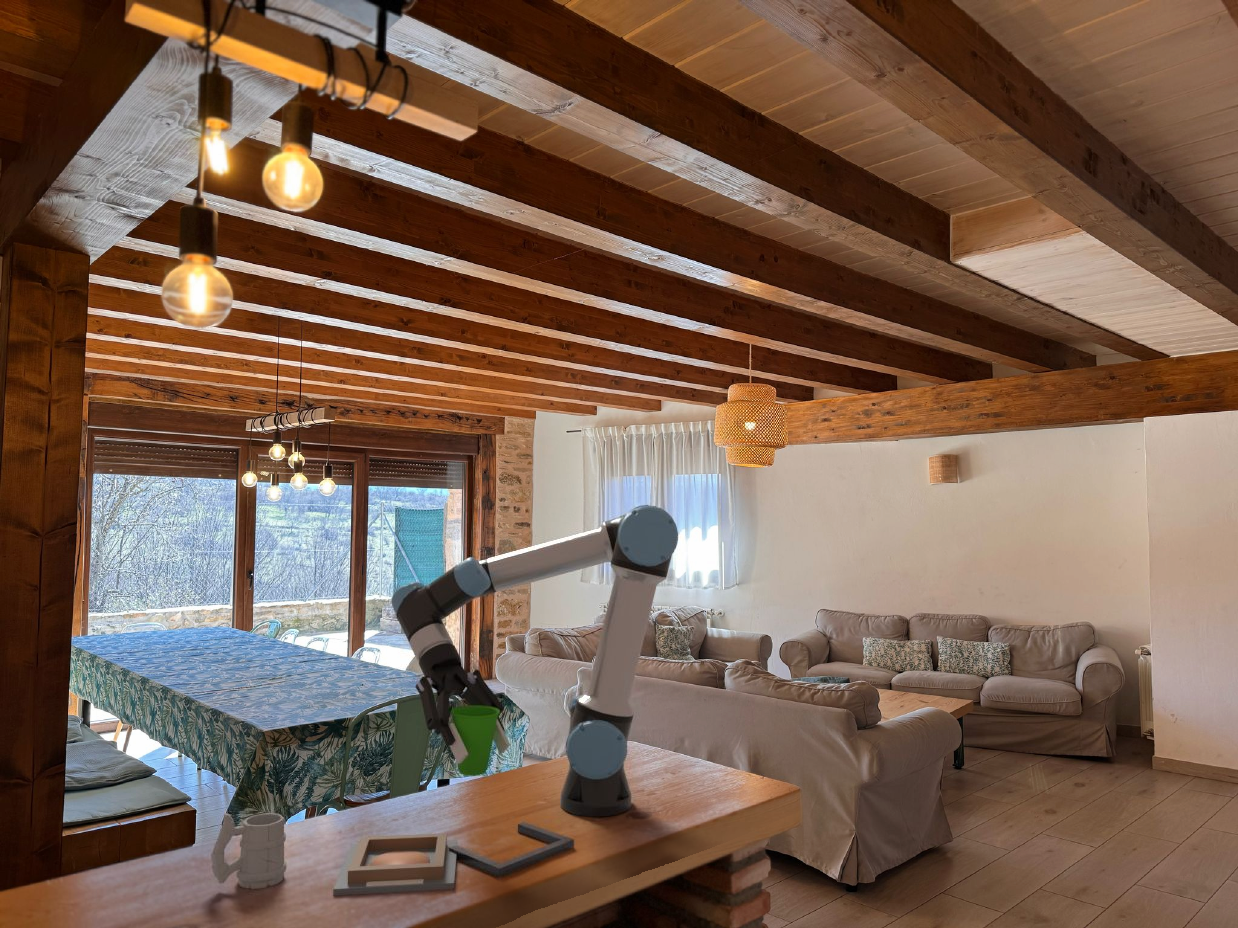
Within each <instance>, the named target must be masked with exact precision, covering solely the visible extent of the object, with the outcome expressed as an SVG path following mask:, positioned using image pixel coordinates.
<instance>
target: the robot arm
mask: <svg viewBox="0 0 1238 928" xmlns="http://www.w3.org/2000/svg"><path fill="white" fill-rule="evenodd" d="M678 542H679V531H678V527H677V524H676V522H675V520H674V518H673V517H672V516H671V515H670V514H669V512H667V511H666V510H665V509H664V508H661V507H658V506H655V505H649V504H646V505H645V504H644V505H643V504H642V505H638V506H635V507H634V508H632V509H631V510H629V511H628V512H627V513H624V514H623V515H620V516H619V517H616V518H613V519H609V520H607V521H606V520H605V521H603V522H602V523H601V525H600V526H599V527H597V528H595V529H591V530H587V531H583V532H580V533H576V534H572V535H568V536H564V537H561V538H558V539H554V540H551V541H550V540H549V541H547V542H543V543H540V544H536V545H532V546H529V547H525V548H521V549H517V550H514V551H510V552H506V553H502V554H499V555H496V556H491V557H488V558H486V559H481V560H477V559H476V558H475V557H472V556H470V557H467V558H466V559H464V560H463V561H459V562H458V563H457V564H455V566H453V567H452V568H451V569H449V570H447V571H446V572H444V573H443V574H441V575H440V576H439V577H437V578H436V579H435V580H433V581H431V582H430V583H428V584H427V585H424V584H423V583H422V582H418V581H413V582H410V583H408V584H403V585H402V586H401V587H399V588H397V590H396V591H395V592H394V593H393V595H392V597H391V606H392V608H393V610H394V614H395V617H396V620H397V621H398V622H399V625H400V627H401V629H402V631H403V633H404V635H405V637H406V639H407V641H408V643H409V645H410V648H411V650H412V652H413V654H414V656H415V659H416V660H417V661H418V666H419V669H420V670H421V672H422V675H423V676H422V677H420V679H419V680H418V681H417V683H416V684H415V689H416V690H417V692H418V694H419V695H420V699H421V704H422V710H423V715H424V719H425V723H426V728H427V730H428V731H433V730H434V733H435V734H436V735H441V737H442V739H443V741H444V744H445V745H446V746H447V747H449V748H450V750H451V752H452V755H453V757H454V759H455V760H456V763H458V764H459V763H462V762H463V760H464V759H465V758H466V757H467V756H468V752H467V750H466V748H465V746H464V744H463V742H462V739H461V737H460V735H459V733H458V731H457V729H456V727H455V725H454V723H453V722H452V723H450V697H453V696H455V697H456V696H458V697H459V698H460V699H461V700H465V701H466V702H467V703H468V704H469V705H482V706H490V707H495V708H497V709H499V710H500V713H499V714H498V717H497V722H496V727H495V732H494V737H493V742H494V745H495V746H496V749H497V751H498V753H499V754H500V755H502V754H504V753H505V752H506V750H507V749H508V748H510V746H511V743H510V741H509V739H508V737H507V735H506V733H505V726H504V725H503V722H502V721H501V718H500V715H501V714H502V713H503V712H504V710H505V707H504V705H503V704H502V703H501V702H500V700H499V699H498V697H497V696H496V695H495V694H494V692H493V691H492V690H491V688H490V687H489V686H488V684H487V683H486V681H485V679H483V677H482V676H483V675H482V674H481V672H480V670H479V669H475V670H474V671H472V672H467V671H466V670H465V669H464V667H463V666H462V658H461V656H460V653H459V651H458V650H457V647H456V646H455V645H454V642H453V640H452V637H451V635H450V633H449V632H448V630H447V628H446V625H445V624H444V623H443V620H444V619H445V618H447V617H449V616H450V615H451V614H453V613H454V612H456V611H458V610H459V609H460V608H462V607H464V606H465V605H467V604H468V603H470V602H471V601H473V600H475V599H477V598H480V597H484V596H488V595H491V594H495V593H499V592H501V591H505V590H509V589H513V588H516V587H520V586H524V585H527V584H531V583H535V582H539V581H541V580H542V581H543V580H545V579H549V578H553V577H557V576H560V575H564V574H567V573H572V572H575V571H579V570H582V569H583V570H584V569H587V568H590V567H594V566H598V565H601V564H606V563H610V567H611V569H612V571H613V572H614V580H613V584H612V588H611V592H610V596H609V600H608V604H607V608H606V613H605V616H604V621H603V625H602V629H601V633H600V636H599V637H600V638H599V641H598V645H597V648H596V654H595V657H594V661H593V667H592V670H591V674H590V679H589V682H588V686H587V690H586V692H585V693H584V694H582V695H581V694H579V695H575V696H573V697H572V698H571V700H570V705H569V712H570V713H569V717H570V718H569V719H570V722H569V730H568V735H567V738H566V741H565V754H566V757H567V760H568V762H569V766H568V767H569V768H568V770H567V774H566V777H565V781H564V783H563V786H562V790H561V792H560V808H561V809H562V810H564V811H565V812H568V813H570V814H573V815H578V816H584V817H597V818H598V817H611V816H616V815H620V814H623V813H625V812H627V811H629V810H630V809H631V808H632V792H631V788H630V786H629V785H630V784H629V783H628V777H627V775H626V772H625V767H624V766H625V761H626V758H627V756H628V741H629V735H630V731H631V727H632V722H633V719H634V715H635V712H634V709H633V708H632V706H631V705H630V698H631V694H632V689H633V687H634V682H635V678H636V673H637V670H638V666H639V662H640V656H641V653H642V648H643V646H644V645H643V644H644V640H645V637H646V631H647V628H648V623H649V621H650V620H649V618H650V614H651V610H652V607H653V603H654V598H655V594H656V590H657V586H658V585H659V584H660V583H662V582H663V581H665V580H666V579H667V577H668V572H669V568H670V565H671V560H672V556H673V554H674V553H675V550H676V548H677V546H678ZM433 690H435V691H436V694H435V695H436V699H435V695H434V691H433ZM436 702H437V703H436ZM458 764H457V765H458Z"/></svg>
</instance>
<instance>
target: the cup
mask: <svg viewBox="0 0 1238 928" xmlns="http://www.w3.org/2000/svg"><path fill="white" fill-rule="evenodd" d="M499 713H500V710H499V709H497V708H495V707H490V706H482V705H470V704H469V705H461V706H456V707H453V708H451V710H450V711H449V714H451V715H452V723H454V725H455V727H456V729H457V731H458V733H459V735H460V737H461V739H462V742H463V744H464V746H465V748H466V750H467V752H468V756H467V757H466V758H465V759H464V760H463V762H462V763H459V764H458V763H457V762H456V763H457V770H458V772H459V774H460V775H463V776H469V777H470V776H471V777H473V776H476V777H477V776H481V775H484V774H486V772H487V770H488V768H489V762H490V757H491V751H492V749H493V748H492V747H493V742H494V741H493V737H494V732H495V727H496V722H497V717H498V714H499Z"/></svg>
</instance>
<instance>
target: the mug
mask: <svg viewBox="0 0 1238 928" xmlns="http://www.w3.org/2000/svg"><path fill="white" fill-rule="evenodd" d="M240 834H241V837H240V839H239V847H240V856H239V857H238V858H236V859H234V860H232V861H231V862H227V861H226V859H225V852H226V851H225V849H226V847H227V845H228V844H229V842H230V840H231V839H232V838H233V837H234V836H237V835H240ZM286 837H287V833H286V832H285V817H284V816H282V814H280V813H273V812H271V813H270V812H267V813H265V812H264V813H261V814H255V815H251V816H249V817H247V818H245V819H244V820H243V822H242V825H238V826H236V825H235V822H234V819H233V817H232V815H231V814H229V813H227V812H224V813H223V823H222V826H221V828H220V831H219V834H218V837H217V839H216V841H215V843H214V847H213V849H212V852H211V854H210V859H211V862H212V864H211V870H212V873H213V875H214V878H216V880H217V882H218V883H219V884H224V883H225V881H226V880H227V879H228V878H229V877H230V876H231V875H232V874H233V873H235V872H236V878H237V879H238V880H237V881H238V886H240V887H241V888H244V889H247V890H248V889H251V890H257V889H259V890H260V889H266V888H267V887H272V886H275V885H277V884H279V883H281V882H282V881H283V880H284V879H285V873H286V871H287V867H288V866H287V862H286V861H285V841H286Z"/></svg>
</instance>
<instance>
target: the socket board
mask: <svg viewBox="0 0 1238 928" xmlns="http://www.w3.org/2000/svg"><path fill="white" fill-rule="evenodd" d="M455 845H457V846H458V839H456V840H455V839H454V840H451V839H450V840H448V833H447V832H443V833H441V832H440V833H422V834H421V833H419V834H416V833H415V834H394V835H393V834H391V835H371V836H360V839H359V841H358V843H356V844H351V845H350V847H349V850H348V852H347V855H346V857H345V860H344V861H343V864H342V867H341V869H340V872H339V874H338V877H337V879H336V882H335V884H334V887H333V889H332V890H333V891H332V892H333V893H332V895H333V896H352V895H368V894H371V895H372V894H388V893H389V894H390V893H407V892H408V893H409V892H424V891H425V892H427V891H428V892H429V891H445V890H450V891H451V890H454V889H455V881H456V880H455V878H456V868H457V867H456V865H457V860H456V853H454V852H451V851H449V847H452V846H455Z"/></svg>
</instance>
